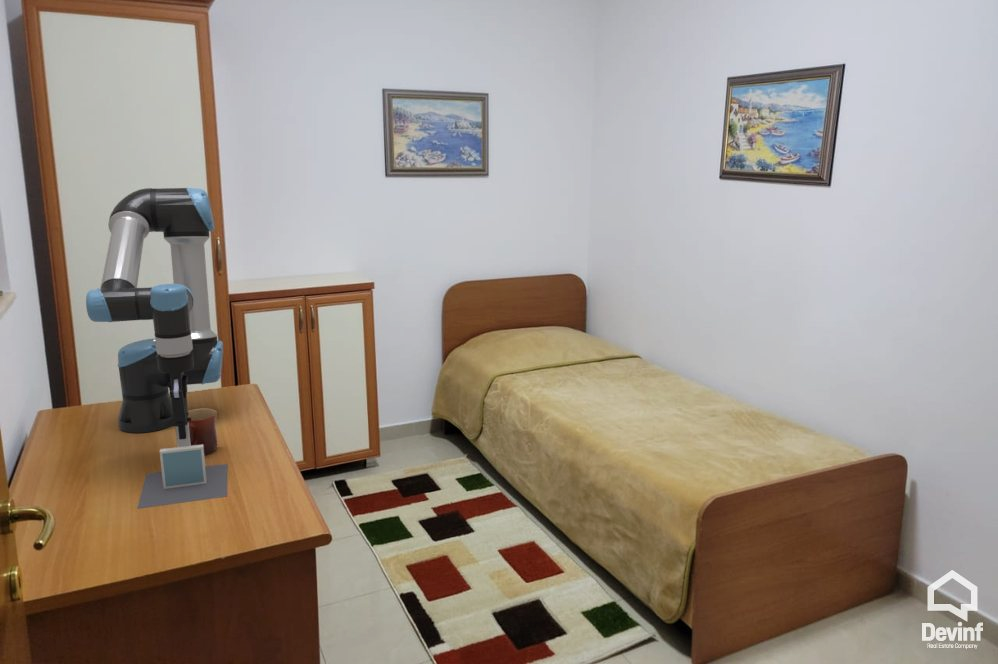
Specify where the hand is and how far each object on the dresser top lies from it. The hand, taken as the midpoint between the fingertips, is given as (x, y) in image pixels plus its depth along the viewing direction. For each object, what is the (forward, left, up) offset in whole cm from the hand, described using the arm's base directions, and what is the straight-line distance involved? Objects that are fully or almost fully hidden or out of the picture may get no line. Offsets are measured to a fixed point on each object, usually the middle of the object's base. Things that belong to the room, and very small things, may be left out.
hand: (184, 449), depth 170 cm
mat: (+6, 0, -7) cm, 9 cm away
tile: (+6, 0, -6) cm, 8 cm away
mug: (-12, +2, -7) cm, 14 cm away
